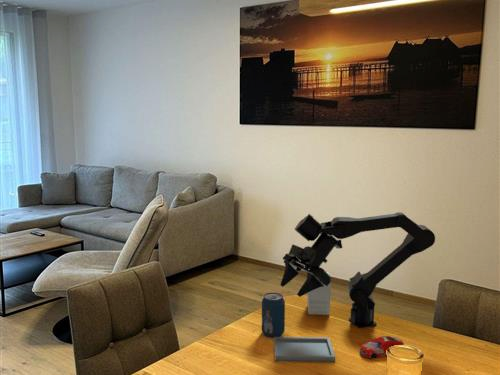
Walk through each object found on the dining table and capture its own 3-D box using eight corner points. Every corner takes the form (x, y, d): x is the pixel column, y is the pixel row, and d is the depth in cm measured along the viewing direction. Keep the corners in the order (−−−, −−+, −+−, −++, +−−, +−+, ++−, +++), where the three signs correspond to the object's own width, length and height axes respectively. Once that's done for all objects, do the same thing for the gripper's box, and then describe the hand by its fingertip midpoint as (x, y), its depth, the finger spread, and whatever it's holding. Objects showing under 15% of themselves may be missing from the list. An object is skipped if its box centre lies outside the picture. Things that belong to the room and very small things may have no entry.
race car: (366, 361, 124) (367, 347, 123) (355, 352, 129) (356, 338, 128) (407, 353, 128) (408, 340, 127) (395, 344, 133) (396, 331, 132)
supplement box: (328, 306, 159) (329, 271, 157) (330, 315, 152) (331, 278, 150) (306, 305, 160) (307, 270, 158) (307, 314, 153) (308, 278, 151)
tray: (328, 342, 134) (328, 337, 133) (335, 362, 123) (335, 356, 123) (273, 341, 134) (273, 336, 134) (275, 361, 123) (275, 356, 123)
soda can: (283, 328, 142) (283, 291, 141) (285, 339, 135) (286, 300, 134) (260, 329, 142) (260, 291, 140) (262, 339, 135) (262, 300, 133)
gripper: (288, 228, 148) (258, 266, 144) (324, 242, 132) (291, 285, 128) (307, 249, 153) (279, 286, 149) (344, 264, 137) (313, 307, 133)
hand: (289, 290), depth 140 cm, fingers open, 9 cm apart
